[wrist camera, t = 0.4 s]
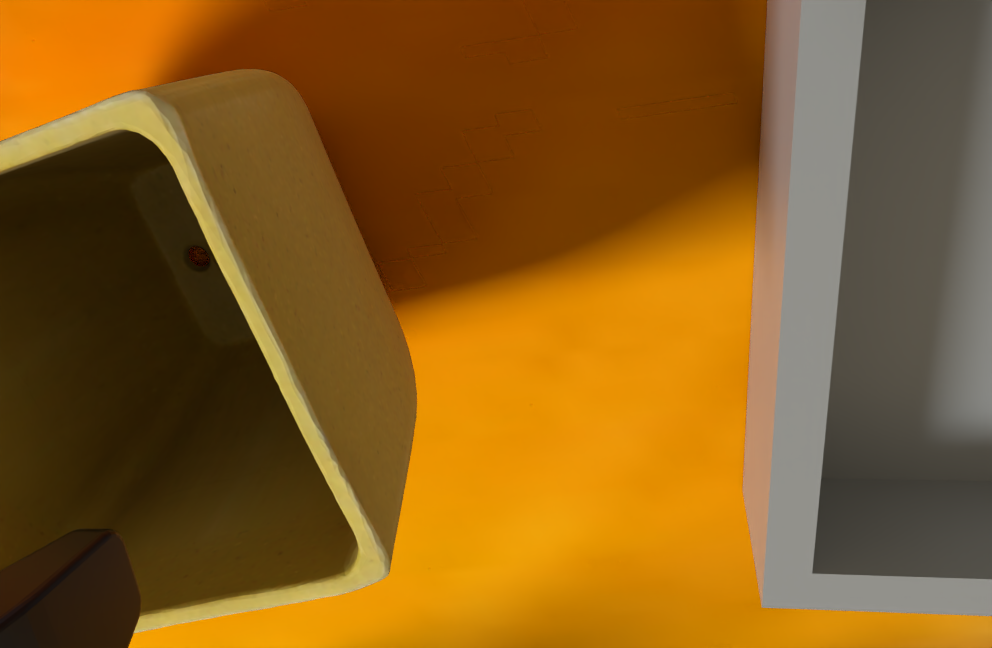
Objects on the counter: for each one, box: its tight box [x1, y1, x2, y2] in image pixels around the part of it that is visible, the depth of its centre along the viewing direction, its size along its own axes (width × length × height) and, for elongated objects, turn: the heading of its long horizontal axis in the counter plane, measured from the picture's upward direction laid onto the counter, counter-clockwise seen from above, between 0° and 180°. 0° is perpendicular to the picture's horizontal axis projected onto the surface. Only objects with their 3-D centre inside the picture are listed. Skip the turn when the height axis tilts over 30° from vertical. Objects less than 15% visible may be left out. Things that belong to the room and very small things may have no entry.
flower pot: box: [0, 69, 417, 633], centre depth 19 cm, size 9×9×9 cm
